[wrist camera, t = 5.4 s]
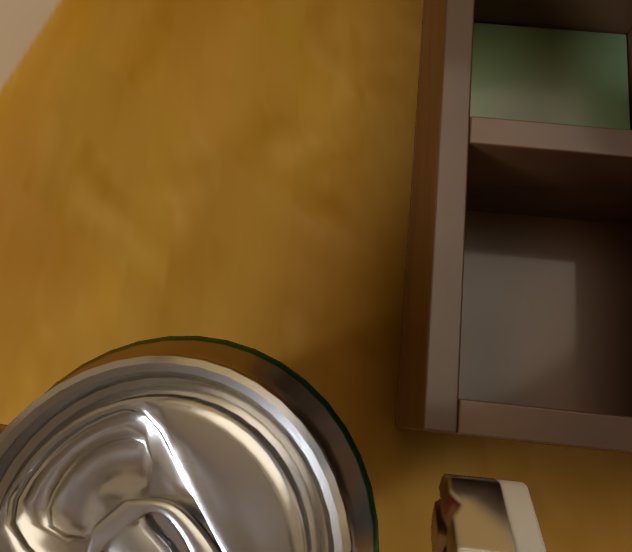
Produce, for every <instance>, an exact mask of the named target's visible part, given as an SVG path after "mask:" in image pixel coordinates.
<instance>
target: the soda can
mask: <svg viewBox="0 0 632 552" xmlns="http://www.w3.org/2000/svg"><path fill="white" fill-rule="evenodd" d="M0 552H379V539H378V519H377V514H376V508H375V503H374V497H373V492H372V487H371V484H370V481H369V478H368V475H367V472H366V469H365V466H364V463H363V460H362V457H361V455H360V453H359V451H358V449H357V447H356V445H355V443H354V441H353V439H352V438H351V436H350V434H349V432H348V430H347V428H346V426H345V425H344V424H343V422H342V421H341V419H340V418H339V417H338V415H337V414H336V413H335V411H334V410H333V408H332V407H331V406H330V404H329V403H328V402H327V401H326V400H325V399H324V398H323V397H322V396H321V395H320V394H319V393H318V392H317V391H316V390H315V389H314V388H313V387H312V386H311V385H310V384H309V383H308V382H307V381H306V380H305V379H304V378H302V377H301V376H300V375H298V374H297V373H295V372H294V371H293V370H291V369H290V368H288V367H287V366H286V365H284V364H283V363H282V362H280V361H278V360H276V359H274V358H272V357H270V356H268V355H266V354H264V353H262V352H260V351H258V350H256V349H253V348H250V347H247V346H243V345H240V344H237V343H234V342H231V341H228V340H222V339H215V338H208V337H201V336H167V337H161V338H155V339H149V340H143V341H138V342H135V343H132V344H129V345H126V346H123V347H120V348H117V349H114V350H111V351H108V352H106V353H104V354H102V355H100V356H98V357H96V358H94V359H92V360H90V361H88V362H86V363H84V364H82V365H81V366H80V367H78V368H77V369H75V370H74V371H72V372H71V373H69V374H68V375H67V376H65V377H64V378H62V379H61V380H59V381H58V382H57V383H55V384H54V385H53V386H52V387H51V388H50V389H49V390H48V391H47V392H46V393H45V394H44V395H42V396H41V397H39V398H38V399H37V400H35V401H34V402H32V403H31V404H30V405H29V406H28V407H27V408H26V409H25V410H23V411H22V412H21V413H20V414H19V415H18V416H17V417H16V418H15V419H14V420H13V421H12V422H11V423H10V424H8V425H7V427H6V428H5V429H4V430H3V432H2V433H1V434H0Z"/></svg>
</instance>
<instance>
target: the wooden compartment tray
mask: <svg viewBox="0 0 632 552" xmlns="http://www.w3.org/2000/svg"><path fill="white" fill-rule="evenodd" d="M395 427H396V428H399V429H408V430H417V431H426V432H436V433H445V434H454V435H463V436H472V437H482V438H491V439H500V440H509V441H519V442H528V443H537V444H546V445H555V446H565V447H574V448H583V449H592V450H601V451H611V452H620V453H629V454H632V0H424V8H423V23H422V37H421V52H420V67H419V82H418V97H417V111H416V126H415V141H414V156H413V171H412V185H411V200H410V215H409V230H408V245H407V259H406V274H405V289H404V304H403V319H402V333H401V348H400V363H399V378H398V392H397V407H396V422H395Z"/></svg>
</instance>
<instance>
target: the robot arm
mask: <svg viewBox="0 0 632 552" xmlns="http://www.w3.org/2000/svg"><path fill="white" fill-rule="evenodd" d="M6 427H7V425H4V424H0V434H1V433H2V432H3V430H4V429H5V428H6ZM439 490H440V499H439V500H438V501H436V502H435V505H434V509H433V514H432V524H431V542H432V552H547V551H546V547H545V544H544V540H543V537H542V534H541V530H540V527H539V524H538V520H537V517H536V513H535V510H534V507H533V503H532V500H531V497H530V493H529V490H528V487H527V486H526V484H525V483H524V482H516V481H506V480H495V479H492V478H482V477H472V476H462V475H452V474H444V475H443V476H442V478H441V482H440V485H439Z"/></svg>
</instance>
